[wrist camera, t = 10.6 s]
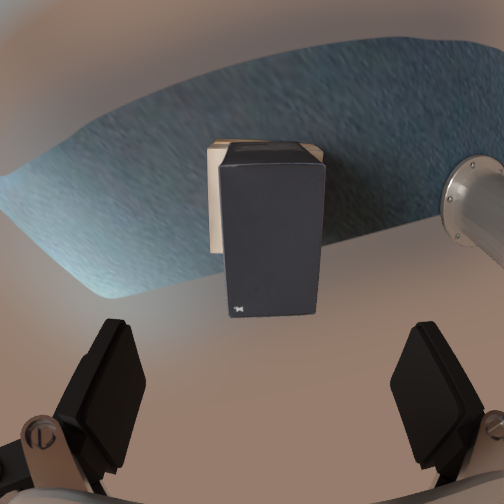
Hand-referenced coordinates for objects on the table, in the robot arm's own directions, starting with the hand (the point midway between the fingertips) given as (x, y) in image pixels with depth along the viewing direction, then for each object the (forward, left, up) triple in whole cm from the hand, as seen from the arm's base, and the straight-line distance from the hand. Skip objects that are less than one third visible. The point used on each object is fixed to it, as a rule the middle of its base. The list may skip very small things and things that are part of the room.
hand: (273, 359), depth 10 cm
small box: (-1, +1, -21) cm, 21 cm away
